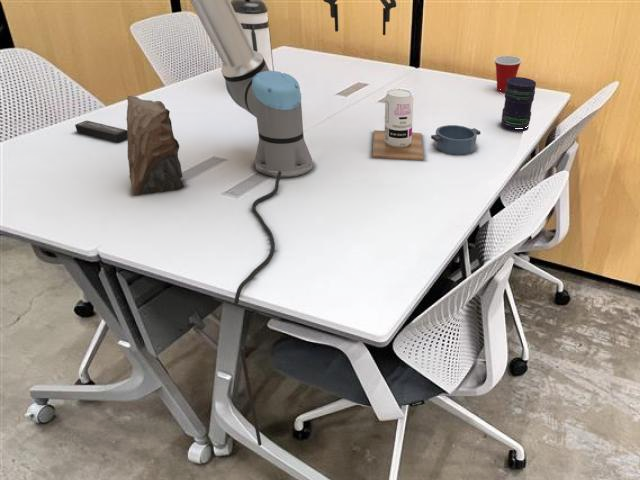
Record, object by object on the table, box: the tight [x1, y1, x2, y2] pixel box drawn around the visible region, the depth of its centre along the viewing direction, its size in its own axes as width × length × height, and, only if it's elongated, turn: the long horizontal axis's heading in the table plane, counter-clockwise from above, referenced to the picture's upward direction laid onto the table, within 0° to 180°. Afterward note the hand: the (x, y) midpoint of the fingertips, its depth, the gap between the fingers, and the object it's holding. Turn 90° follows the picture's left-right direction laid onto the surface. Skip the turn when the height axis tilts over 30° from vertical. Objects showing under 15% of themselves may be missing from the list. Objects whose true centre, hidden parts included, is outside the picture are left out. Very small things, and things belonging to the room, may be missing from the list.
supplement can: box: [384, 88, 414, 148], centre depth 174 cm, size 8×8×15 cm
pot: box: [430, 124, 482, 156], centre depth 182 cm, size 13×17×4 cm
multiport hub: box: [74, 120, 128, 144], centre depth 166 cm, size 4×14×2 cm, turn 71°
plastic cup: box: [493, 55, 523, 94], centre depth 228 cm, size 11×11×12 cm
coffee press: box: [230, 0, 275, 71], centre depth 203 cm, size 17×16×30 cm
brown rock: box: [125, 95, 185, 196], centre depth 141 cm, size 13×13×20 cm
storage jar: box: [500, 76, 537, 133], centre depth 197 cm, size 10×10×15 cm
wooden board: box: [371, 129, 424, 161], centre depth 179 cm, size 20×15×1 cm
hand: (360, 32), depth 168 cm, fingers open, 13 cm apart
